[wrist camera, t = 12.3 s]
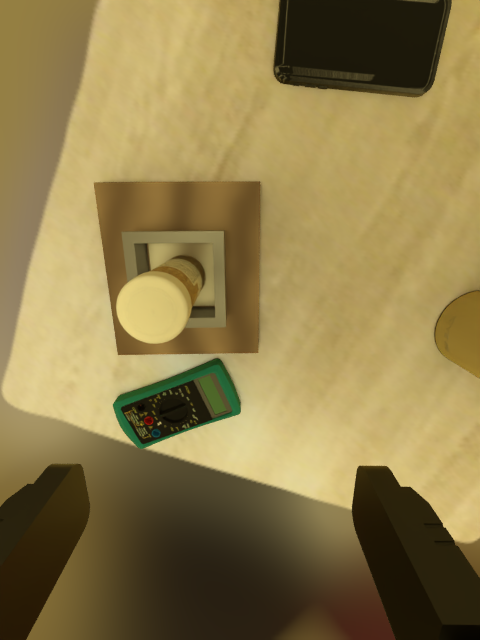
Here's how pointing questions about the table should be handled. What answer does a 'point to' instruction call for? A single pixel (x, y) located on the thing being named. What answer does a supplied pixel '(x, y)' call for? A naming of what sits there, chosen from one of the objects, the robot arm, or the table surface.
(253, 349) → the socket board
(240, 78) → the table surface
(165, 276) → the sprinkles bottle
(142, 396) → the digital multimeter
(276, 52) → the phone
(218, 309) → the socket sleeve
